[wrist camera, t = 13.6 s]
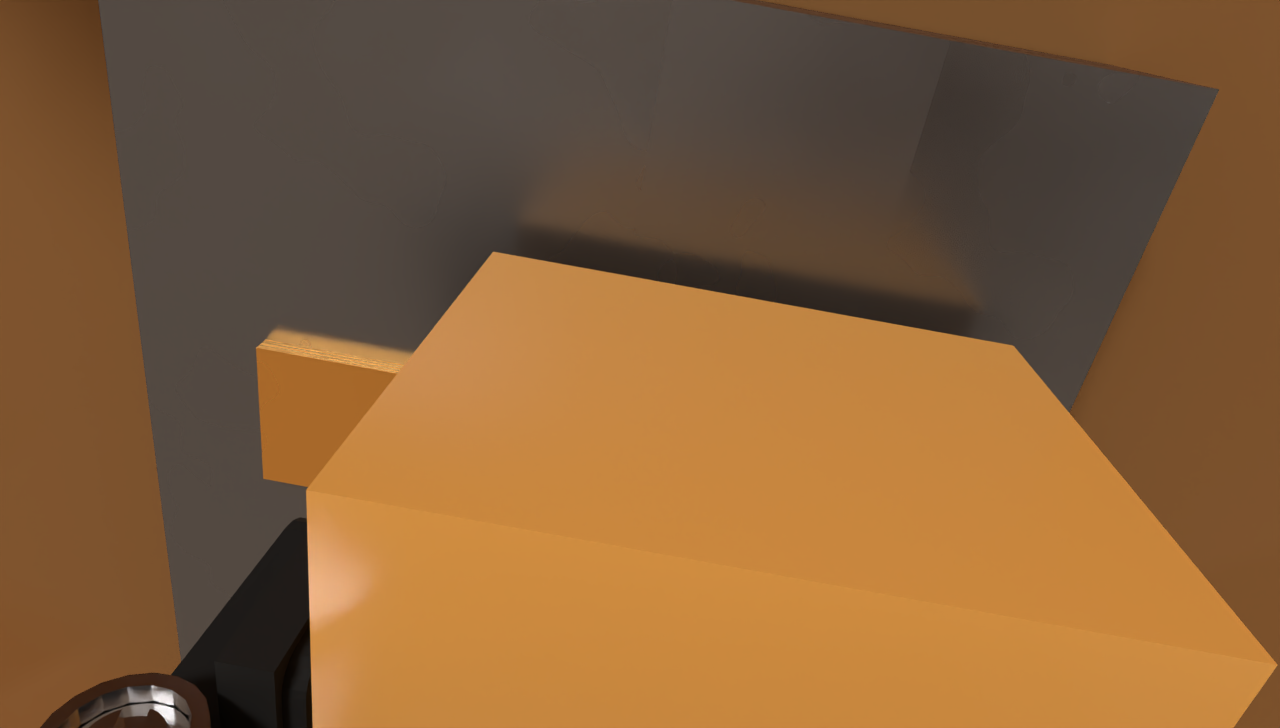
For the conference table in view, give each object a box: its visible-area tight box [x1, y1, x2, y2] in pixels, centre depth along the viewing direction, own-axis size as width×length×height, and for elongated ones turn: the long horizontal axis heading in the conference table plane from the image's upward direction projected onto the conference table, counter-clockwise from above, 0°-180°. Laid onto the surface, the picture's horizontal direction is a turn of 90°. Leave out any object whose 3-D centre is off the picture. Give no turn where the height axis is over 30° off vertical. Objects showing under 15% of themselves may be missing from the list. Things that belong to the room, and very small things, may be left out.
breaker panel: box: [98, 0, 1219, 661], centre depth 16 cm, size 14×22×3 cm, turn 170°
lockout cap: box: [306, 252, 1277, 728], centre depth 10 cm, size 7×7×6 cm
